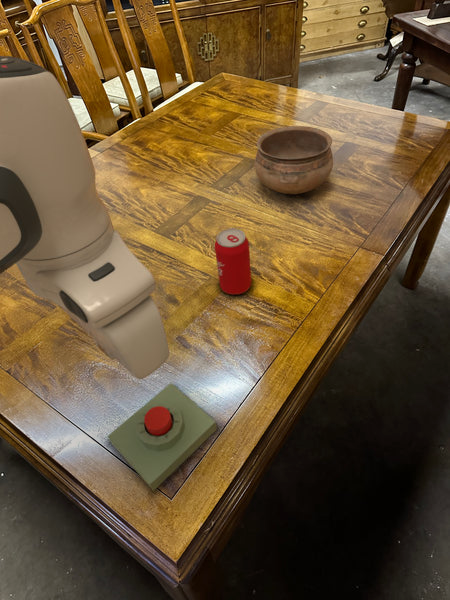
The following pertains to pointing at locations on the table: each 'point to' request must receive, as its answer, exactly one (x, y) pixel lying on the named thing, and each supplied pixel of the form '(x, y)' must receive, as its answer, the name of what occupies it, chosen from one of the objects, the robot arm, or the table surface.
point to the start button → (158, 420)
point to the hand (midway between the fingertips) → (111, 350)
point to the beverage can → (233, 261)
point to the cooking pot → (294, 159)
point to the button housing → (163, 436)
